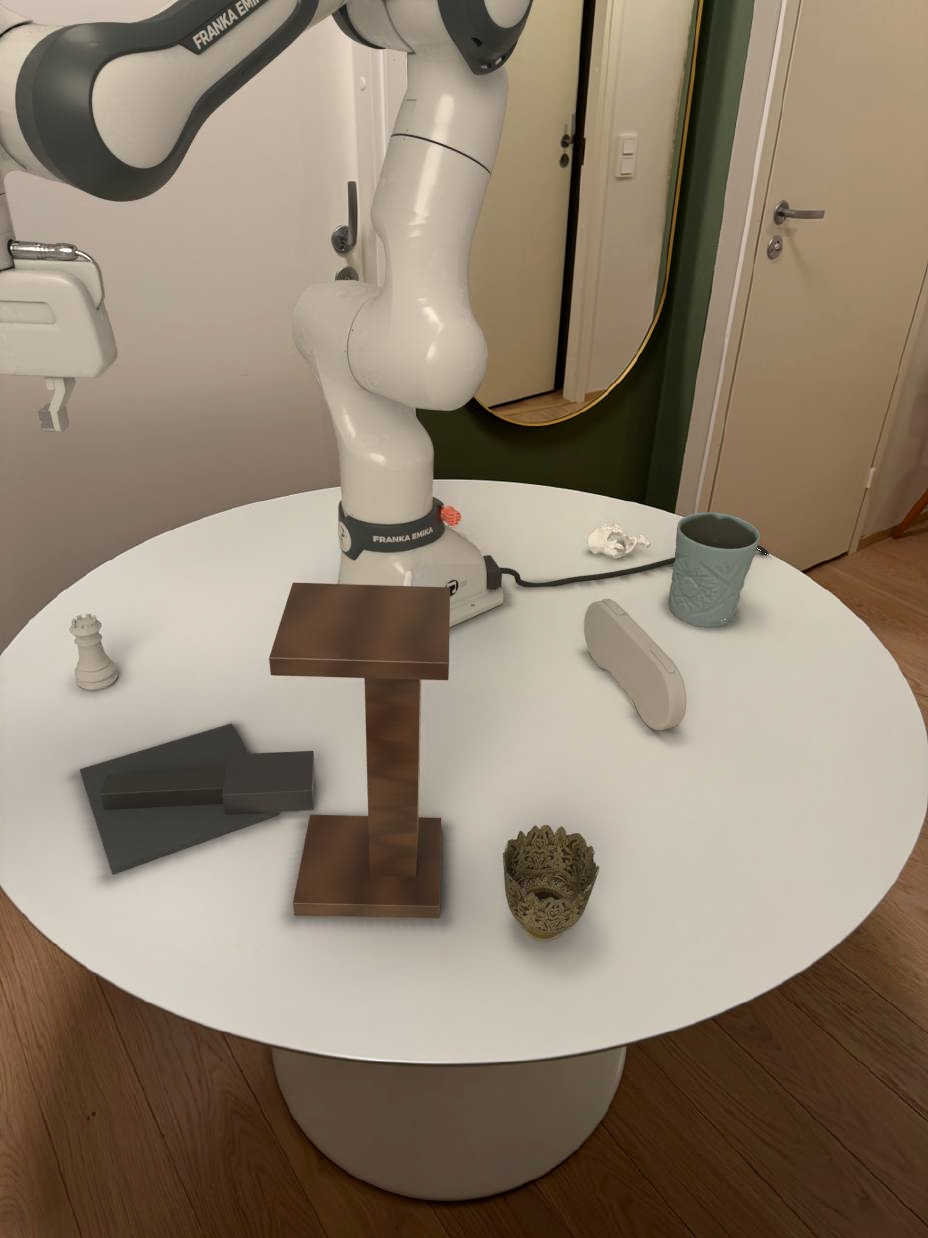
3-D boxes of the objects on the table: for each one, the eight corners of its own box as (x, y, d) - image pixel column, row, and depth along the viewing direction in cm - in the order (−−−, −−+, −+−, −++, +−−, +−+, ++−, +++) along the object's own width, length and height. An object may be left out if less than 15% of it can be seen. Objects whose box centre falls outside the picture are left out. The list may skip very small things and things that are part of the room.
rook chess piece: (105, 695, 95) (91, 634, 91) (68, 688, 96) (52, 628, 92) (126, 671, 99) (114, 611, 95) (90, 665, 100) (76, 606, 95)
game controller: (681, 741, 93) (695, 678, 88) (662, 745, 92) (676, 682, 87) (596, 642, 108) (605, 584, 103) (580, 645, 107) (587, 587, 103)
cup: (492, 891, 75) (498, 824, 71) (577, 887, 76) (587, 821, 71) (503, 967, 69) (510, 899, 64) (595, 962, 69) (608, 895, 65)
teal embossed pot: (730, 593, 119) (749, 513, 113) (748, 634, 111) (770, 550, 104) (656, 589, 119) (671, 509, 113) (668, 630, 111) (685, 546, 104)
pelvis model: (613, 546, 122) (583, 523, 126) (608, 571, 124) (578, 548, 129) (655, 532, 125) (625, 511, 130) (649, 557, 128) (619, 535, 132)
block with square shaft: (314, 769, 86) (313, 750, 84) (313, 810, 81) (312, 790, 80) (113, 779, 83) (108, 759, 82) (99, 821, 79) (94, 801, 77)
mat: (232, 728, 91) (231, 723, 91) (279, 814, 81) (279, 808, 81) (81, 775, 85) (79, 769, 84) (112, 874, 75) (110, 868, 74)
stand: (441, 829, 81) (450, 586, 67) (439, 918, 72) (449, 663, 58) (310, 826, 80) (292, 581, 66) (293, 915, 72) (268, 657, 58)
